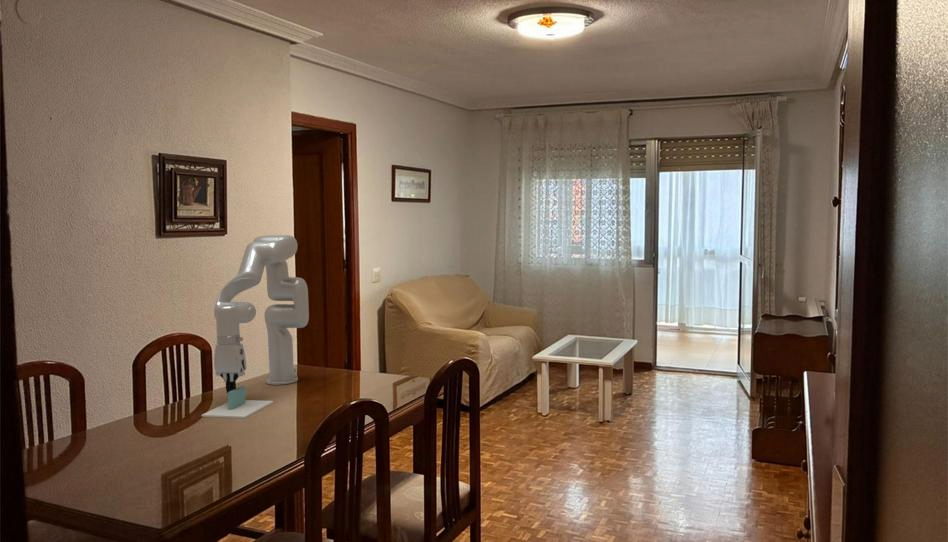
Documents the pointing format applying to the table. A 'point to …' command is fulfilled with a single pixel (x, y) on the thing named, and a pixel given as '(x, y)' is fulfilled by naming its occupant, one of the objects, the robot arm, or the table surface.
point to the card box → (236, 397)
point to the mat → (238, 409)
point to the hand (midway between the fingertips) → (231, 392)
